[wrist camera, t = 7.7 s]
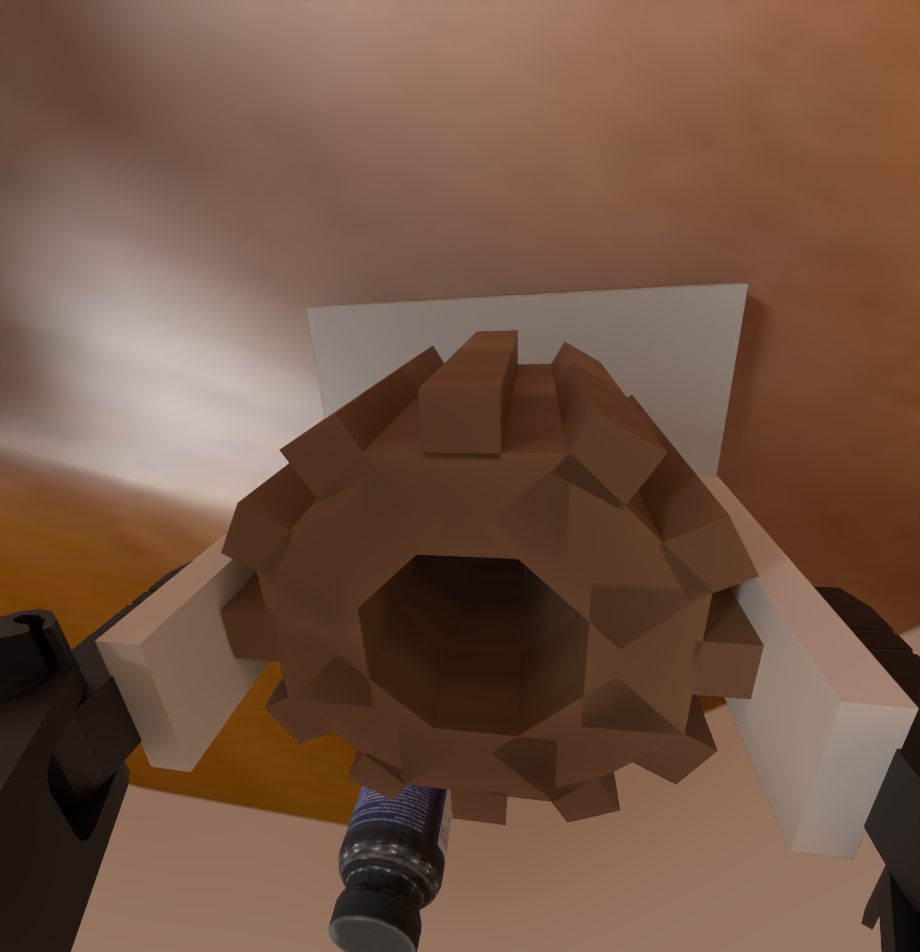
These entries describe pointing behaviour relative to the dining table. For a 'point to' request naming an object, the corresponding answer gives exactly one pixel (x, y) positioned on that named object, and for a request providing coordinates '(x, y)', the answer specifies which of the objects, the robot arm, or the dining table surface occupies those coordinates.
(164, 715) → the robot arm
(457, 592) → the walnut gear
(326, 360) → the gear board
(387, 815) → the pill bottle
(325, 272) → the dining table surface
